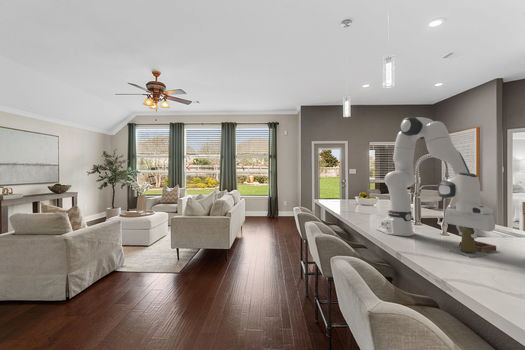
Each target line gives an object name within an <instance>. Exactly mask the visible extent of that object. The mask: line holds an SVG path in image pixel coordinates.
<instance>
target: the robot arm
mask: <svg viewBox="0 0 525 350" xmlns="http://www.w3.org/2000/svg"><path fill="white" fill-rule="evenodd" d="M419 139H420V140H424V141H425V145H426V149H427V152H428V153H429V155H430V156H431V157H433V158H435V159H437V160H441V161H443V162H446V163H447V164H448V165H449V166H451V168H452V170H453V173H454V175H455V176H453V177H451V178H450V177H449V178H447V179H444V180H441V181H439V183H438V185H437V192H438V194H439V196H440V197H441V198H444V199H453V200H454V199H455V201H456V202H455V205H451V204H450V205H447V206H446V208H445V215H444V222H445V223H446V224H448V225H453V226H456V230H457V231H458V235H459V236H461V237H462V234H463V233H462V232H461V228H462V227H468V228H473V229H474V231H475V232H474V234H471V238H474V240H475V239H478V234H480V232H481V231H484V232H493V231H494V230H495V229H496V221H495V217H494V215H493V213H494V209H493V208H491V207H489V206H486V205H484V204H481V199H480V194H481V184H480V183H481V182H480V178H479V176H478V175H477V174H474V173H472V172H470V170H469V168H468V165H467V163H466V162H465V161H466V160H465V159H464V157H463V156H462V153H461V152H460V151H459V150H457V148H456V146H455V145H454V144H453V142H452V138H451V136H450V133H449V130H448V129H447V126H446V124H445V123H444V122H442V121H439V120H438V121H437V120H435V119H432V118H427V117H422V116H421V117H418V116H417V117H415V116H408V117H405V118H403V119H402V121H401V122H400V125H399V132H398V133H397V136H396V137H395V143H394V148H393V156H392V157H393V158H392V161H393V164H394V169H395V170H392V171H390V172H388V173H387V174H385V176H384V178H383V180H384V183H385V185H386V186H387V189H388V193H389V198H390V203H389V204H390V208H389V209H390V210H388V211H387V213H388V214H387V216H386V217H384V218H383V219H381V220H380V223H379V226H377V227H375V230H377V231H380V232H382V233H384V234H386V235H392V236H400V237H401V236H406V237H408V236H410V237H411V236H414V235H415V233H414V230H413V224H412V210H411V209H412V207H411V206H412V204H411V203H412V201H411V199H412V198H411V196H410V195H409V191H408V188H410V187H411V186H413V185H414V184H415V183H416V176H415V170H414V169H415V168H414V157H415V150H416V144H417V140H419Z"/></svg>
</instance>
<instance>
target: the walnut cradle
mask: <svg viewBox="0 0 525 350" xmlns="http://www.w3.org/2000/svg"><path fill="white" fill-rule="evenodd" d="M460 246H461V241H459V247H460ZM475 246H476V251H478V252H482V253H485V254H486V253H490V252H491V253H492V252H496V251H497V245H495V244H490V243H485V242H483V241H482V242H481V241H478V240H475Z"/></svg>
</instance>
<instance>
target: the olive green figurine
mask: <svg viewBox="0 0 525 350" xmlns="http://www.w3.org/2000/svg"><path fill="white" fill-rule="evenodd" d="M461 232H462V233H463V234H462V236H461V241H460V242H461V246H460V245H459V248H460V250H462V251H466V252H476V246H475V241H476V240H475V239H474V238H471V234H474V232H475V231H474V229H473V228H468V227H462V228H461Z"/></svg>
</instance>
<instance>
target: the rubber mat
mask: <svg viewBox="0 0 525 350" xmlns="http://www.w3.org/2000/svg"><path fill="white" fill-rule="evenodd" d="M448 252H452V253H453V254H454V253H456V254H458V255H461V256H465V257H467V256H468V258H477V256H479V257H485V255H486V256H488V254H487V253H486V252H485V253H482V252H478V251H476V252H466V251H462V250H460V247H459V248H454V249H451V248H450V249H449V251H448Z"/></svg>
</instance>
